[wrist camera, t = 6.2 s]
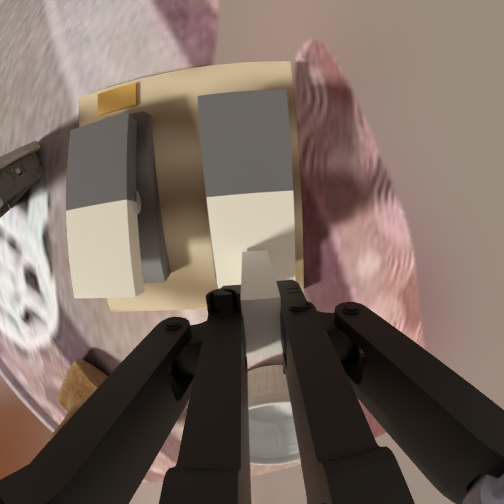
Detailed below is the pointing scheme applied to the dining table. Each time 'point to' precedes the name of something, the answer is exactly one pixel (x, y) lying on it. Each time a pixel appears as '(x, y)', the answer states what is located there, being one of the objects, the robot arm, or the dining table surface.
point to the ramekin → (270, 418)
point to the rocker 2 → (248, 180)
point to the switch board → (183, 175)
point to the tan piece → (78, 387)
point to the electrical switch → (11, 166)
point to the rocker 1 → (104, 209)
